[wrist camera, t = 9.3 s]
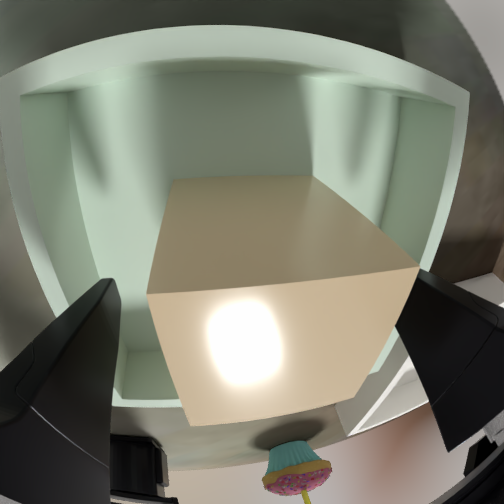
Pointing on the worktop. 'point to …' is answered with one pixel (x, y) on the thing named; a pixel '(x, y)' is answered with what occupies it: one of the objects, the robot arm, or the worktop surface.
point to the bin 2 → (401, 375)
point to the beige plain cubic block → (271, 295)
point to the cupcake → (295, 470)
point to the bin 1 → (213, 153)
